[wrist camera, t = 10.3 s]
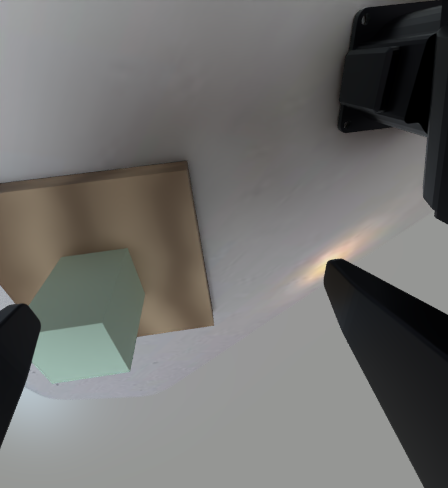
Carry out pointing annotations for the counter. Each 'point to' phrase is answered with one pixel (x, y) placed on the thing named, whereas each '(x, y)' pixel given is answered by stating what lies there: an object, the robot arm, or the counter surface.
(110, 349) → the sage block
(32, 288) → the walnut base
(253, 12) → the counter surface
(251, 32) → the counter surface
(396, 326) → the robot arm
